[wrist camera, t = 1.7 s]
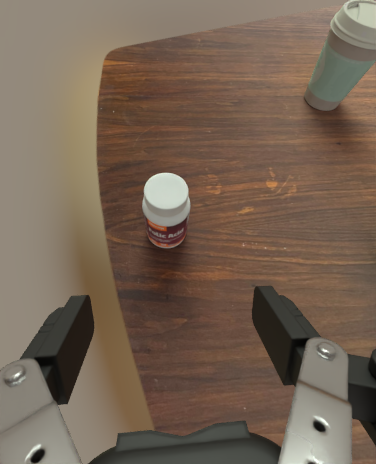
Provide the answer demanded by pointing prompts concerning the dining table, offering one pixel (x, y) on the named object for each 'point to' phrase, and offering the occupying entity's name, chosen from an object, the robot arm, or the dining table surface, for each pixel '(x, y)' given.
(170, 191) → the pill bottle
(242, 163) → the dining table surface
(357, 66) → the coffee cup
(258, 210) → the dining table surface
